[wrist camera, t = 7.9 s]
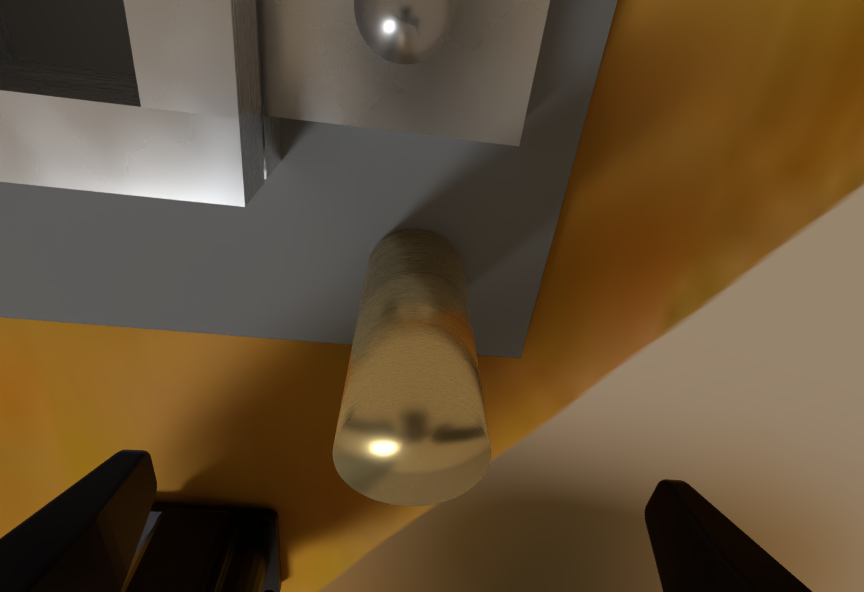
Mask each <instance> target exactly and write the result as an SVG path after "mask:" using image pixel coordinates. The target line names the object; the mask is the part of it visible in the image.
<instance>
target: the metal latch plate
mask: <svg viewBox="0 0 864 592" xmlns="http://www.w3.org/2000/svg"><path fill="white" fill-rule="evenodd" d="M123 1H124V7H125V13H126V19H127V25H128V31H129V37H130V43H131V49H132V55H133V61H134V67H135V73H136V79H137V85H138V89H134V88H126V87H118V86H110V85H101V84H93V83H85V82H77V81H69V80H61V79H53V78H44V77H36V76H28V75H20V74H12V73H4V72H0V182H8V183H18V184H27V185H37V186H47V187H56V188H66V189H76V190H85V191H95V192H105V193H114V194H124V195H134V196H143V197H153V198H163V199H172V200H182V201H192V202H201V203H211V204H221V205H230V206H240V207H245V206H246V205H247V204H248V203H249V202H250V200H251V199H252V198H253V197H254V195H255V194H256V193H257V192H258V190H259V189H260V188H261V187H262V186H263V184H264V164H263V143H262V122H261V101H260V80H259V59H258V38H257V17H256V0H123Z"/></svg>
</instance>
